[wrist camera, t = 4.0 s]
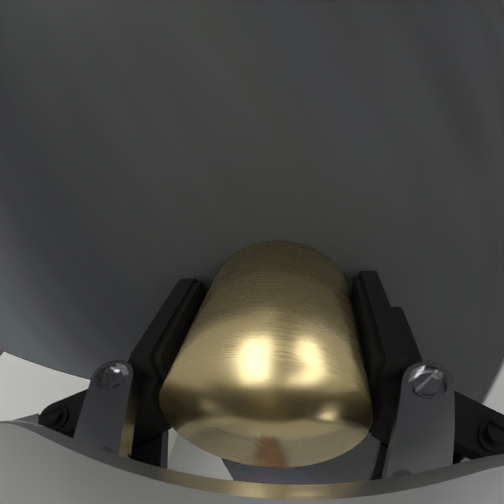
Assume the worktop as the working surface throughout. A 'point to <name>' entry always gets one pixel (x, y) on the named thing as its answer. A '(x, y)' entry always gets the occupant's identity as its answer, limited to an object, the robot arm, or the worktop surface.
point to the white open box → (64, 385)
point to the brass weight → (272, 362)
